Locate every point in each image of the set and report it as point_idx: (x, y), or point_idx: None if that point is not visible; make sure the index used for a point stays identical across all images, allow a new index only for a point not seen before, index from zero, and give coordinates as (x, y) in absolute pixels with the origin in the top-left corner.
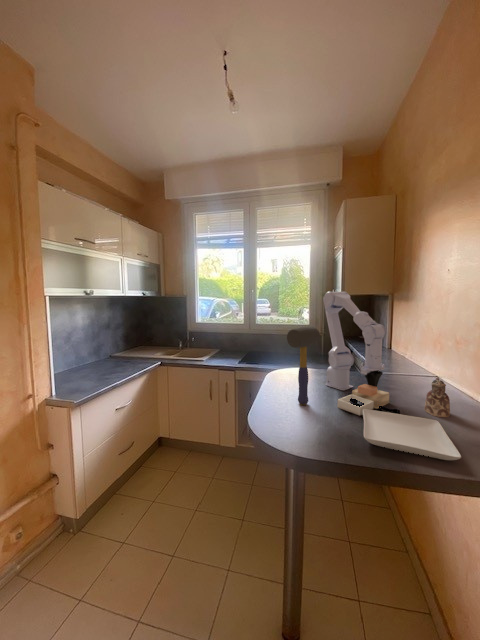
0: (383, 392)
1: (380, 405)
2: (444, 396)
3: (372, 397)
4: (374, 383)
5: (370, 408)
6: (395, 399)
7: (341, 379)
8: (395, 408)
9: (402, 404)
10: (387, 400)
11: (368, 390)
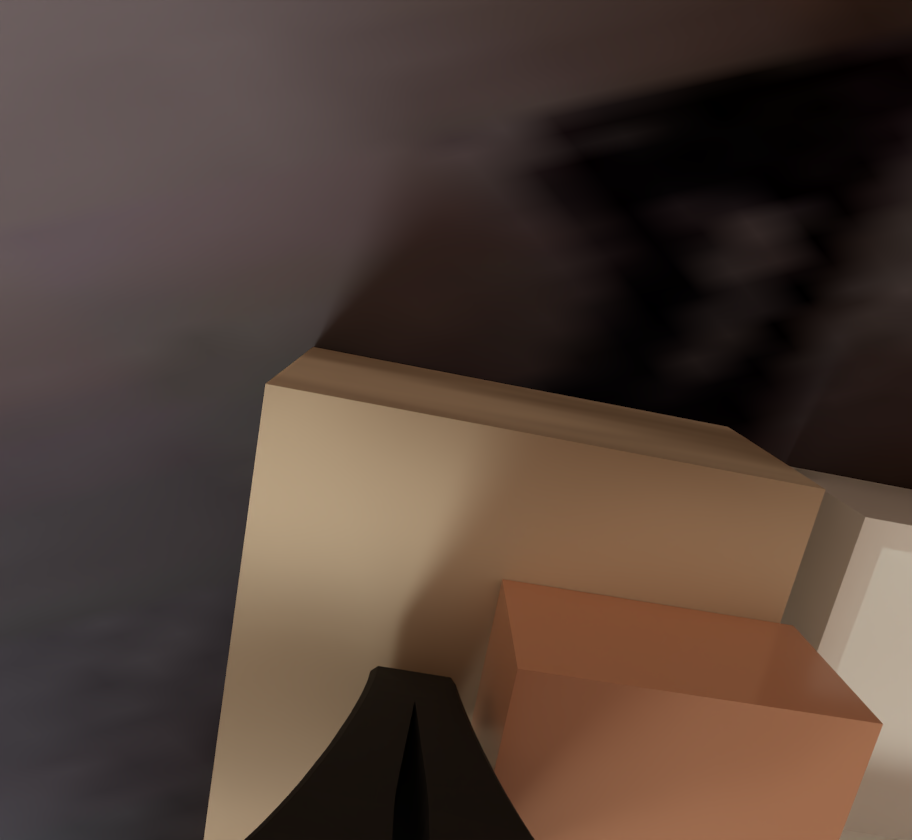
0: (336, 494)
1: (626, 413)
2: None
3: (779, 583)
4: (504, 806)
5: (901, 495)
6: (31, 300)
7: None
8: (504, 191)
9: (204, 134)
10: (366, 369)
11: (845, 752)
